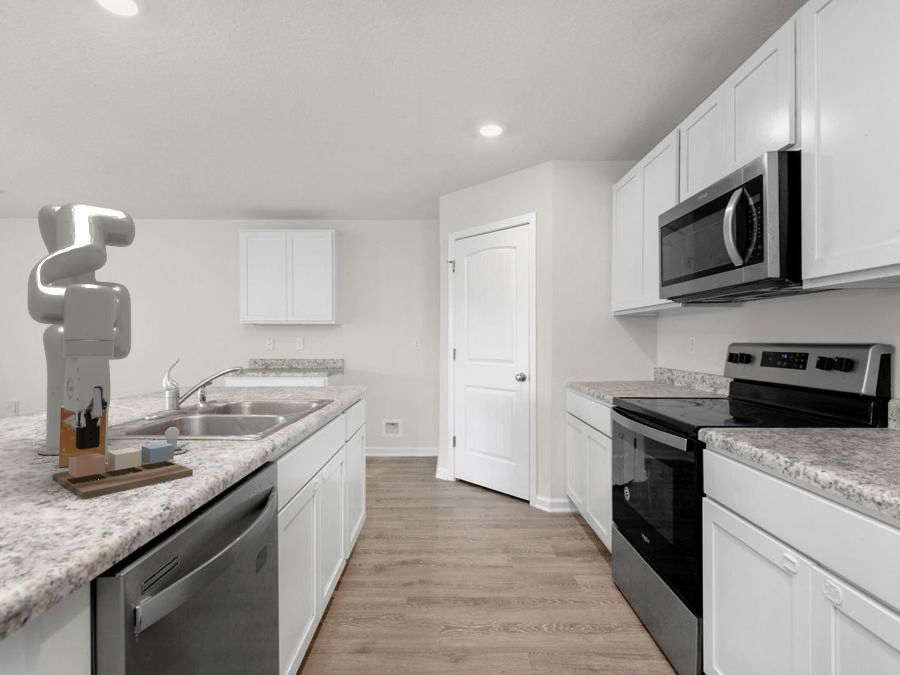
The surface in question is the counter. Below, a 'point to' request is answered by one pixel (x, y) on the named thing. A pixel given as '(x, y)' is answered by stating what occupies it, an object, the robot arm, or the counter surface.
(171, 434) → the pacifier
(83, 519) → the counter surface
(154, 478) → the walnut board
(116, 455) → the cream cube
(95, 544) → the counter surface
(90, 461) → the pink square block
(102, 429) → the small box
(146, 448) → the blue cube
